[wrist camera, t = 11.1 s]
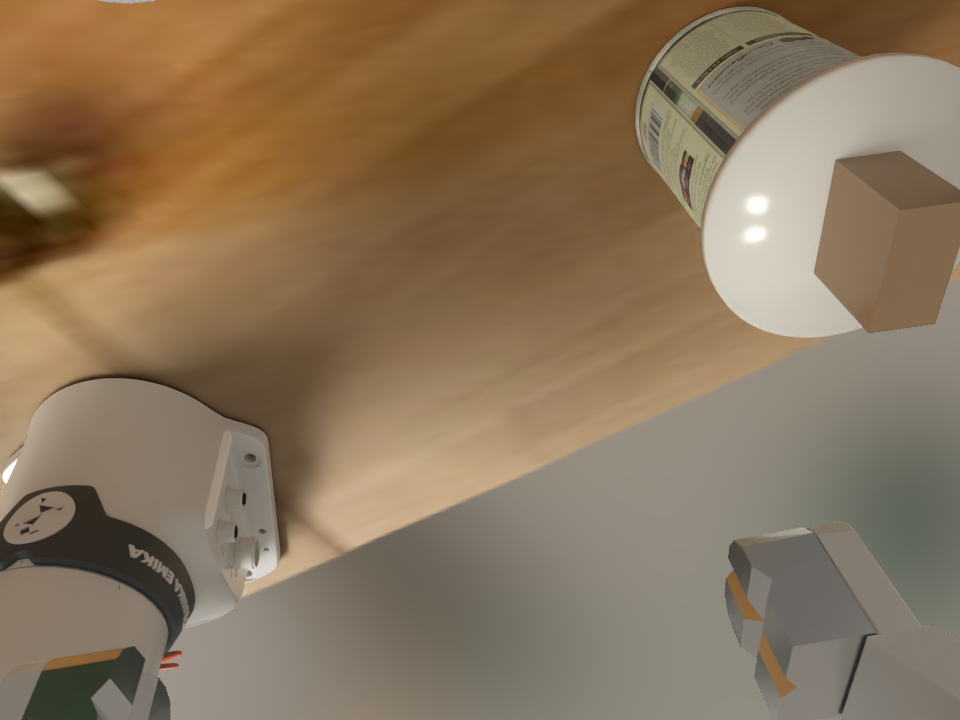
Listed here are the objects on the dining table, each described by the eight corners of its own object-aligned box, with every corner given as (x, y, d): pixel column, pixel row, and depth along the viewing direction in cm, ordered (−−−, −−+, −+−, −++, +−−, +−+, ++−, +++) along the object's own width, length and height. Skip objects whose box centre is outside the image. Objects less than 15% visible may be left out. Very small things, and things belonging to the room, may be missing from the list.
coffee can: (838, 121, 42) (997, 229, 31) (680, 219, 45) (773, 351, 34) (776, -42, 37) (942, 18, 26) (601, 82, 40) (680, 185, 28)
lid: (948, 307, 33) (1028, 378, 29) (690, 344, 33) (733, 420, 29) (1041, 30, 26) (1165, 70, 22) (712, 77, 26) (772, 126, 22)
